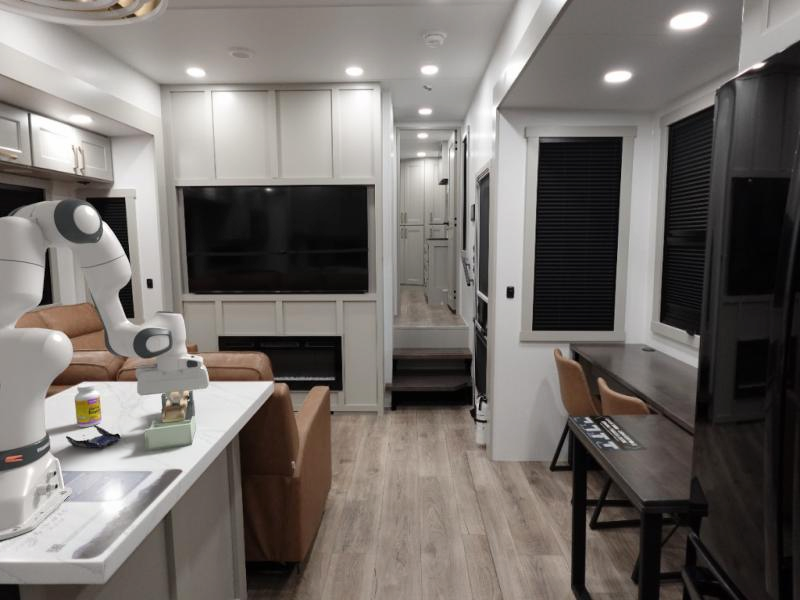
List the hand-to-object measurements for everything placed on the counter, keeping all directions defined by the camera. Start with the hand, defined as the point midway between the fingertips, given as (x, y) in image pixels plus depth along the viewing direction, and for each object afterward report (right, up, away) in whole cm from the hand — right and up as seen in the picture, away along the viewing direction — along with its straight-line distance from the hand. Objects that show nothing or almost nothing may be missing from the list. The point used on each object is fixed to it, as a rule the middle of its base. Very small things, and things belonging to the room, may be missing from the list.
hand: (175, 405), depth 145 cm
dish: (+4, -8, -10) cm, 13 cm away
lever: (-2, -1, +5) cm, 6 cm away
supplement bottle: (-29, -7, +3) cm, 30 cm away
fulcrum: (-1, -6, +5) cm, 8 cm away
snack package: (-17, -9, -13) cm, 23 cm away
